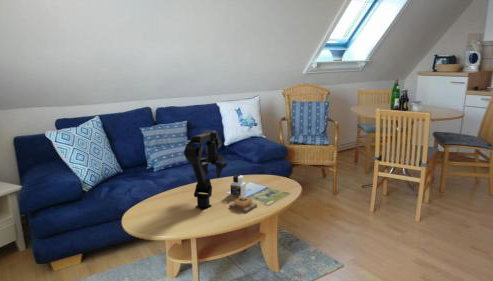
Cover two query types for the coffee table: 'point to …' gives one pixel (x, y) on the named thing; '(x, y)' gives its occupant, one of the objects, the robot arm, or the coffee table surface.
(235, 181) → the medicine bottle
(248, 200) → the brown hollow square block
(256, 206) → the keeper plate
